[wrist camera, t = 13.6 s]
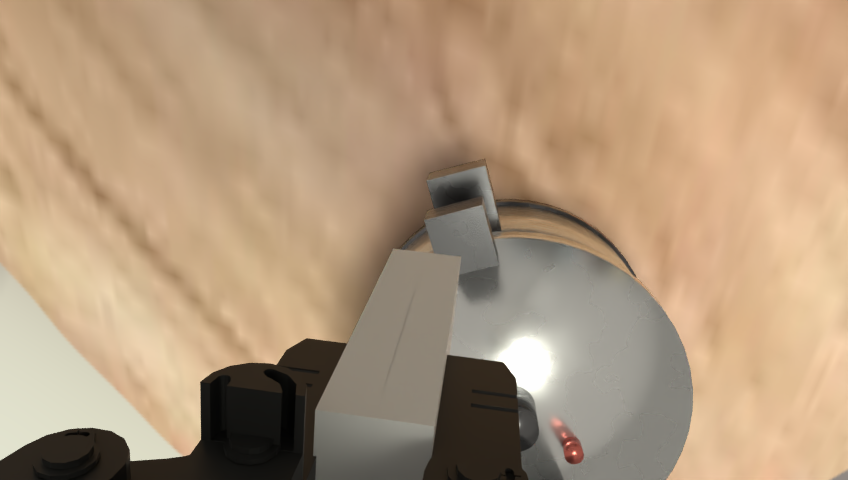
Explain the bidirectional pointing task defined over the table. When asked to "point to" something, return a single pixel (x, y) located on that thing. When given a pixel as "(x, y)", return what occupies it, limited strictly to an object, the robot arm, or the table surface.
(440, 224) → the lid
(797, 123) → the table surface
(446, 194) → the pot
